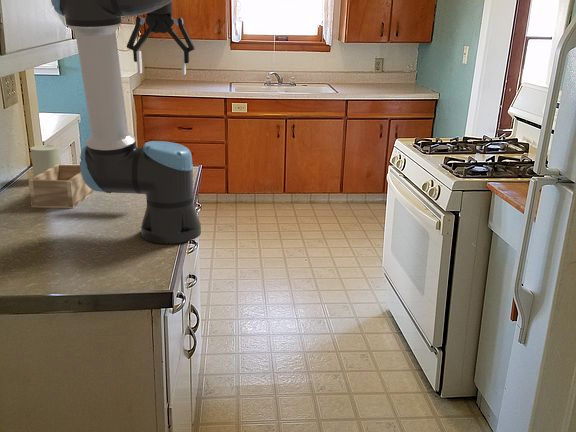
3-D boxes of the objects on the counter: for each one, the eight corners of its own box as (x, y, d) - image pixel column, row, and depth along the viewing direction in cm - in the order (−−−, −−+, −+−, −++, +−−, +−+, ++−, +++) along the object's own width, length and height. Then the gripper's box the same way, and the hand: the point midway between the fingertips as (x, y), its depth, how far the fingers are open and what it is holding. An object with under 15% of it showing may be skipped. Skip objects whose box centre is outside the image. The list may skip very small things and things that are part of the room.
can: (68, 178, 191) (65, 144, 187) (55, 185, 182) (51, 149, 178) (42, 177, 192) (39, 142, 188) (28, 183, 183) (24, 148, 179)
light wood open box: (73, 208, 160) (70, 181, 157) (31, 207, 160) (28, 180, 157) (96, 189, 179) (94, 165, 176) (59, 188, 179) (56, 164, 176)
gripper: (202, 2, 168) (204, 74, 175) (120, -1, 168) (125, 71, 174) (198, 0, 161) (200, 75, 167) (113, -2, 161) (118, 73, 167)
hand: (162, 73), depth 171 cm, fingers open, 13 cm apart
